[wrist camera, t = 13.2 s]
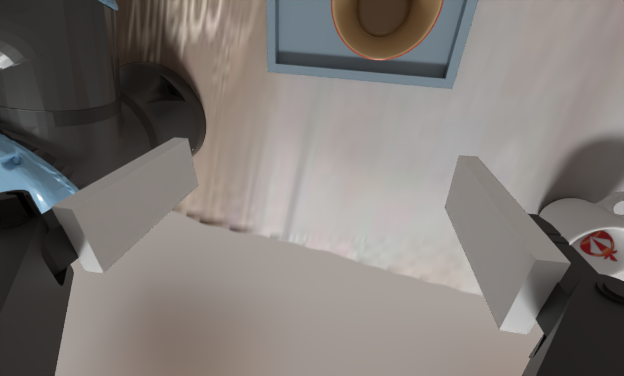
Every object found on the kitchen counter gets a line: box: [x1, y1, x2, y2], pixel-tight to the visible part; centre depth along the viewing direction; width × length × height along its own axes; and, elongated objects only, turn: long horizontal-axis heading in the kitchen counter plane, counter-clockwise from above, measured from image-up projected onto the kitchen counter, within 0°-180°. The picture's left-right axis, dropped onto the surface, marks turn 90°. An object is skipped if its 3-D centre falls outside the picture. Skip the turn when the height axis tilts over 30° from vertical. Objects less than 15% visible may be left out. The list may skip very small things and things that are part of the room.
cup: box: [539, 192, 624, 277], centre depth 35 cm, size 11×8×8 cm
